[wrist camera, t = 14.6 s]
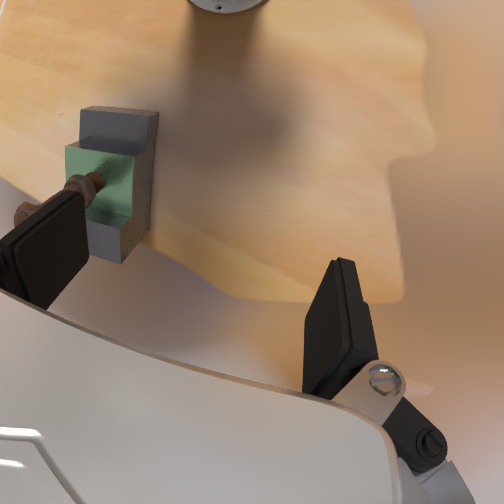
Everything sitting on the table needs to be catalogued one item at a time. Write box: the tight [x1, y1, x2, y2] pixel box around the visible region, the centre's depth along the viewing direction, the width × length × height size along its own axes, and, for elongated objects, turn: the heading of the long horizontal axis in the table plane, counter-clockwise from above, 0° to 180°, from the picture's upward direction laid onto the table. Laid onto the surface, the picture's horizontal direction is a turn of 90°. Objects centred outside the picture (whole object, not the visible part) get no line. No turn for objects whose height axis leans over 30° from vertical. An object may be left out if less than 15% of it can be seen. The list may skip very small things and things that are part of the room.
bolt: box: [14, 171, 104, 227], centre depth 33 cm, size 6×5×15 cm
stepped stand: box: [65, 106, 159, 264], centre depth 41 cm, size 20×12×10 cm, turn 168°
